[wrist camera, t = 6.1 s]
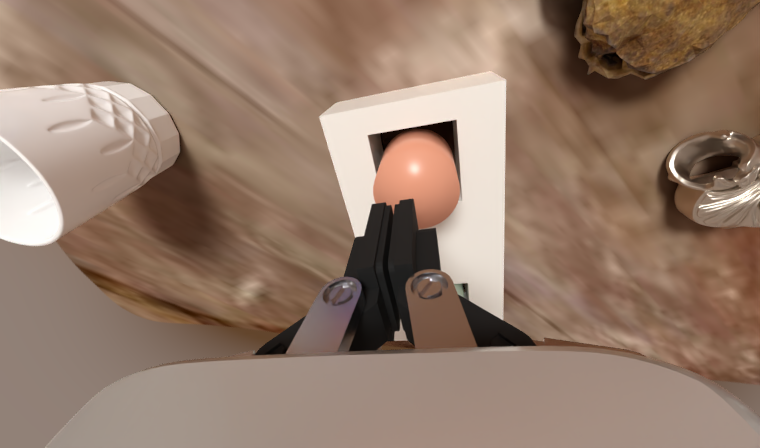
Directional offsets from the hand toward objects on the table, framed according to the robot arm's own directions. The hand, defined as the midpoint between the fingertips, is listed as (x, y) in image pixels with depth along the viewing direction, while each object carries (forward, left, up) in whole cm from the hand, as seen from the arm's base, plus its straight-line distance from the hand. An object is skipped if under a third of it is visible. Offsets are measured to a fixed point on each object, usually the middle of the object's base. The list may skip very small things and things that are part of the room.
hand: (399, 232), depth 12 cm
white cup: (+20, -5, -11) cm, 24 cm away
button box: (-1, +6, -11) cm, 12 cm away
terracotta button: (-1, 0, -8) cm, 8 cm away
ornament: (-20, +5, -11) cm, 24 cm away
